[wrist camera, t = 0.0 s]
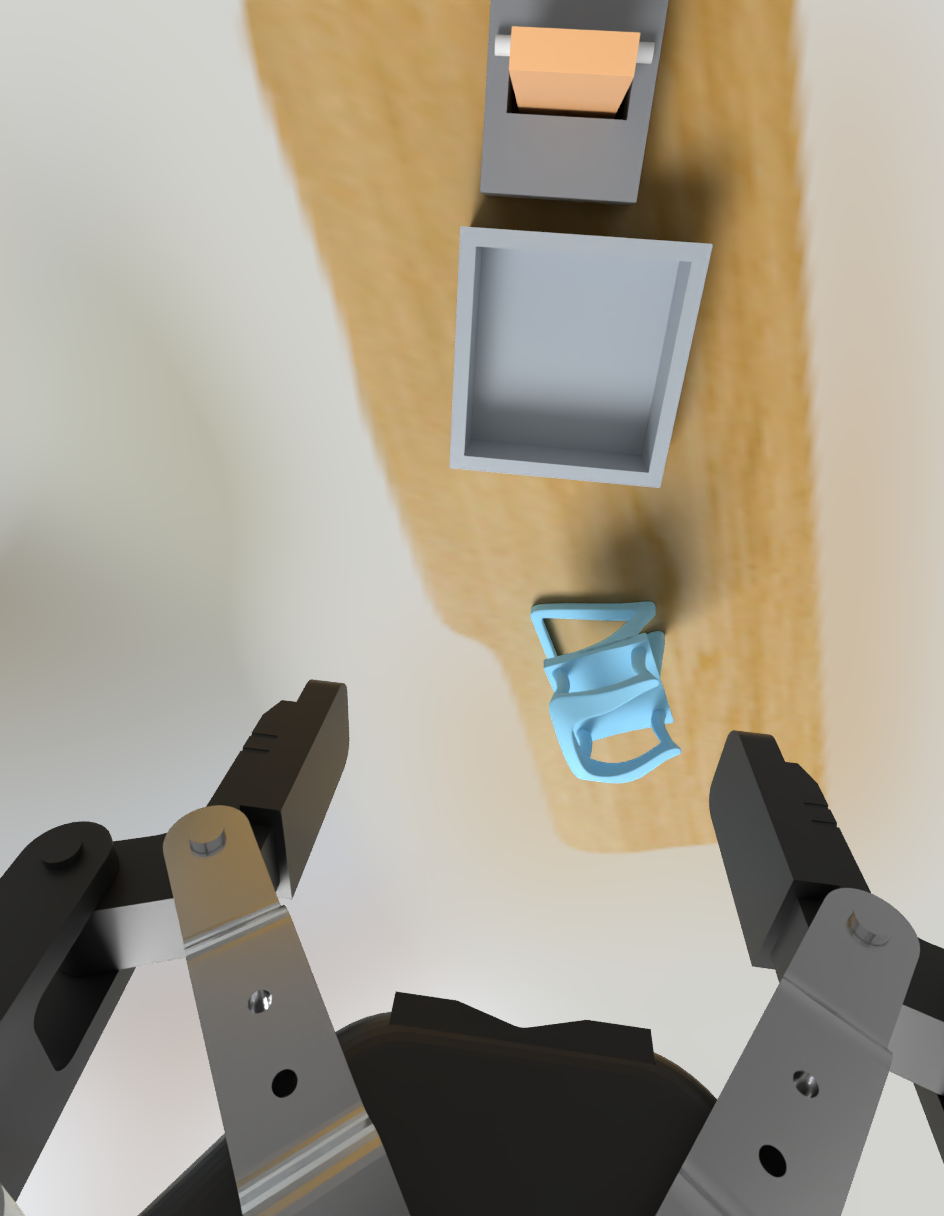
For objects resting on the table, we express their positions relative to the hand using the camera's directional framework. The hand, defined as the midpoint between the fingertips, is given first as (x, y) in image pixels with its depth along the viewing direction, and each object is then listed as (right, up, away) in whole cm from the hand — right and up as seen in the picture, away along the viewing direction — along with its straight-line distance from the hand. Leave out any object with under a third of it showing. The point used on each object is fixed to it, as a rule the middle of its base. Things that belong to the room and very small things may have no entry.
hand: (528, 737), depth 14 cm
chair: (+8, +1, +33) cm, 34 cm away
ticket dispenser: (+3, +27, +18) cm, 33 cm away
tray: (+4, +17, +24) cm, 30 cm away
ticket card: (+3, +27, +18) cm, 33 cm away
